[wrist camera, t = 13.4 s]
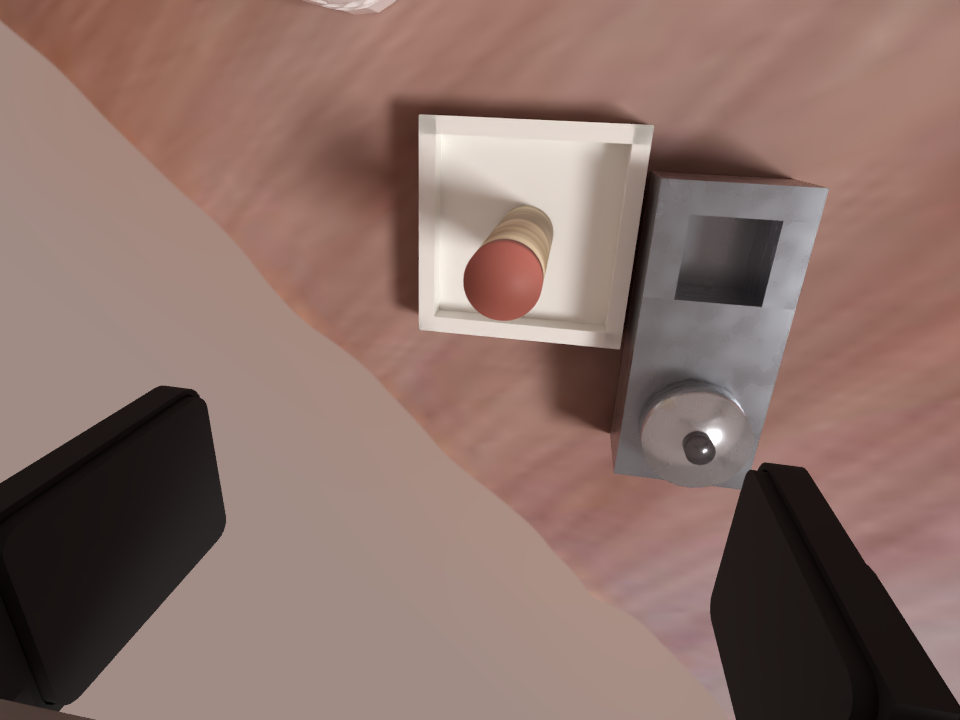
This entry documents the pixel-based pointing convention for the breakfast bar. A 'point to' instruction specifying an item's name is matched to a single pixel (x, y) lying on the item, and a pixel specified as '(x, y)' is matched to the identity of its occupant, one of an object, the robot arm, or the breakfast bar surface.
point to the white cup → (354, 5)
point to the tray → (550, 187)
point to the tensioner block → (709, 322)
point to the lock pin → (510, 265)
